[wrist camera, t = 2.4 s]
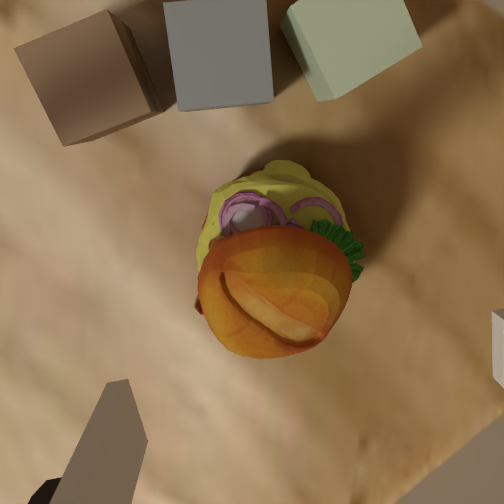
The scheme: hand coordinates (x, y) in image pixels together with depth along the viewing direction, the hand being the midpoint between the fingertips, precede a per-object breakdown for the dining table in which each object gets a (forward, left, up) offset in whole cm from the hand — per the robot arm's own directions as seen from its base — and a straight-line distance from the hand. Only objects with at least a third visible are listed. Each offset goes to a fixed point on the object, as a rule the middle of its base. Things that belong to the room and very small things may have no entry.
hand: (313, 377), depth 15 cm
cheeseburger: (0, 0, -16) cm, 16 cm away
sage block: (-12, +6, -15) cm, 21 cm away
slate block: (-12, -1, -15) cm, 20 cm away
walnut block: (-12, -8, -15) cm, 21 cm away
